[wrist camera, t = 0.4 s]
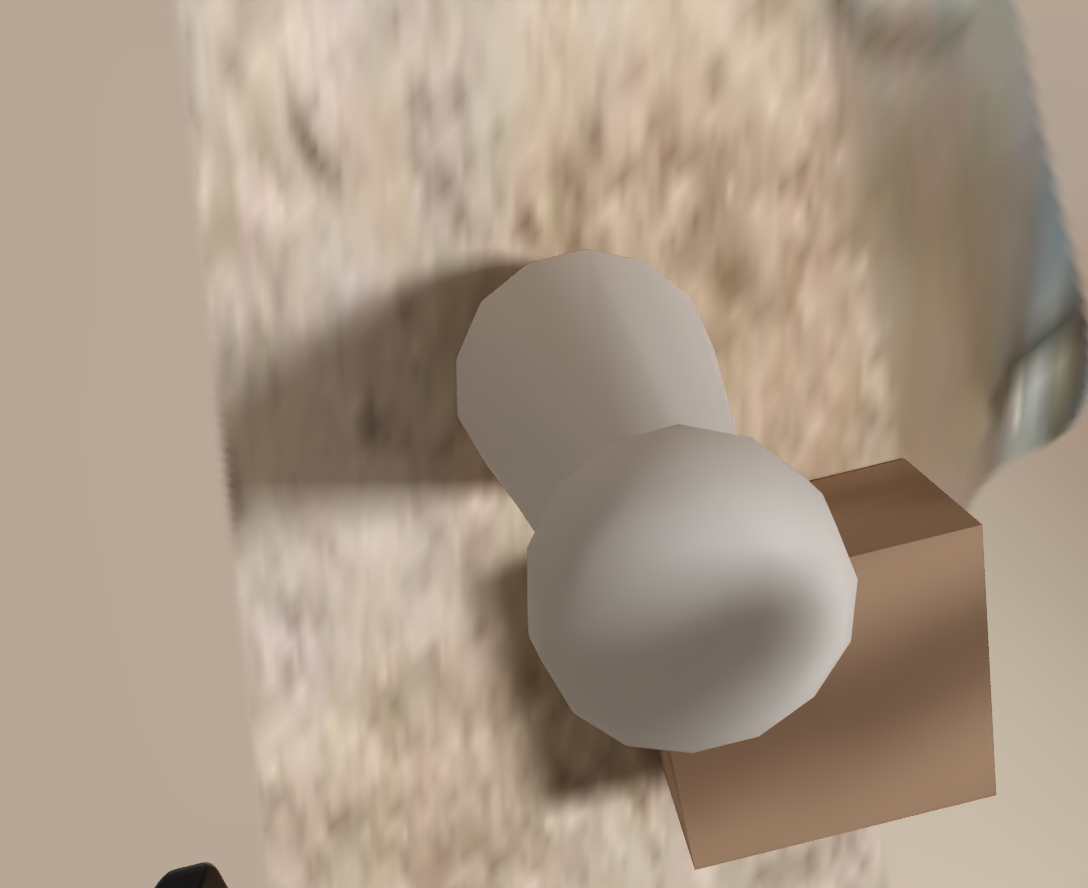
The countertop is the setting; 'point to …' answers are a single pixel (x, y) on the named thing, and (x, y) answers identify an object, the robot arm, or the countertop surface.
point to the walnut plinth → (866, 689)
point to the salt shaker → (649, 510)
